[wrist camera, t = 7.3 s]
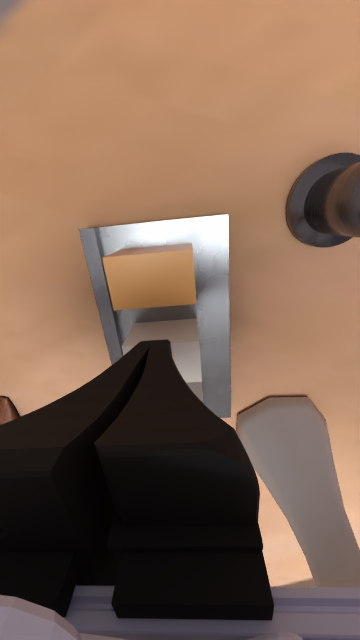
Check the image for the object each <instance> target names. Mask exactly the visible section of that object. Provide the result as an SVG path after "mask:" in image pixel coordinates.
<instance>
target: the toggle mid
mask: <svg viewBox="0 0 360 640" xmlns="http://www.w3.org/2000/svg"><path fill="white" fill-rule="evenodd" d="M165 339H168V340H169V341H170V342H171V350H172V357H173V360H174V362H175V364H176V367H177V369H178V370H179V372H180V374H181V376H182V377H183V379H184V380H185V382H186V383H190V382H202V374H201V359H200V345H199V333H198V322H197V318H196V319H183V320H169V321H156V322H142V323H134V324H133V326H132V328H131V330H130V332H129V334H128V335H127V337H126V339H125V341H124V343H123V345H122V351H123V355H125V354H126V353H127V352H128V351H130V350H131V349H132V348H133V347H134V346H135V345H137V344H138V343H139V342H140V341H149V340H165Z"/></svg>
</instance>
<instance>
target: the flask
mask: <svg viewBox="0 0 360 640" xmlns="http://www.w3.org/2000/svg"><path fill="white" fill-rule="evenodd" d="M236 433H237V435H238V437H239V439H240V440H241V442H242V444H243V446H244V448H245V450H246V452H247V454H248V456H249V459H250V461H251V463H252V466H253V467H254V469H255V470H256V472H257V473H258V475H259V476H260V477H261V479H262V481H263V482H264V484H265V485H266V487H267V488H268V490H269V492H270V493H271V495H272V496H273V498H274V499H275V501H276V503H277V504H278V506H279V507H280V509H281V510H282V512H283V513H284V515H285V517H286V518H287V520H288V522H289V524H290V526H291V528H292V530H293V532H294V534H295V536H296V539H297V541H298V543H299V545H300V547H301V549H302V551H303V553H304V555H305V557H306V560H307V562H308V565H309V568H310V571H311V573H312V576H313V579H314V581H315V584H316V587H360V550H359V547H358V544H357V542H356V539H355V536H354V533H353V531H352V528H351V525H350V523H349V520H348V517H347V514H346V512H345V509H344V505H343V501H342V496H341V492H340V488H339V483H338V479H337V474H336V470H335V466H334V461H333V456H332V450H331V445H330V439H329V434H328V429H327V425H326V420H325V418H324V417H323V416H322V415H321V413H320V412H319V411H318V409H317V408H316V407H315V406H314V404H313V403H312V402H311V400H310V399H309V398H308V397H272V398H267V399H266V400H264V401H262V402H260V403H258V404H257V405H255V406H253V407H251V408H249V409H248V410H246V411H244V412H242V413H240V414H239V415H238V416H237V432H236Z"/></svg>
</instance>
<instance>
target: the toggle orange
mask: <svg viewBox="0 0 360 640" xmlns="http://www.w3.org/2000/svg"><path fill="white" fill-rule="evenodd" d="M102 259H103V264H104V268H105V273H106V277H107V282H108V287H109V291H110V296H111V300H112V305H113V309H114V310H126V309H139V308H151V307H164V306H177V305H190V304H197V303H196V288H195V274H194V260H193V247H192V243H185V244H174V245H164V246H153V247H143V248H132V249H122V250H118V251H116V252H114V253H112V254H109V255H107V256H105V257H102Z"/></svg>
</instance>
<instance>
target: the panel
mask: <svg viewBox="0 0 360 640" xmlns="http://www.w3.org/2000/svg"><path fill="white" fill-rule="evenodd" d="M79 233H80V237H81V241H82V245H83V249H84V253H85V257H86V261H87V265H88V269H89V273H90V278H91V282H92V286H93V290H94V294H95V298H96V302H97V306H98V310H99V314H100V318H101V322H102V327H103V331H104V335H105V339H106V343H107V347H108V351H109V355H110V359H111V363H112V365H113V364H114V363H115V362H117V361H118V360H119V359H120V358H121V357H123V356H124V355H123V351H122V345H123V343H124V341H125V339H126V337H127V335H128V334H129V332H130V330H131V328H132V326H133V324H134V323H142V322H156V321H169V320H183V319H196V318H197V322H198V333H199V345H200V359H201V374H202V391H203V403H204V404H205V406H207V407H208V408H209V409H210V410H211V411H212V412H213V413H214V414H215V415H217V416H218V417H219V418H227V417H231V383H230V304H229V226H228V214H224V215H214V216H205V217H195V218H185V219H176V220H166V221H156V222H146V223H137V224H127V225H117V226H107V227H98V228H87V229H79ZM185 243H192V247H193V260H194V274H195V288H196V303H197V304H190V305H177V306H164V307H151V308H139V309H126V310H114V309H113V305H112V300H111V296H110V291H109V287H108V282H107V277H106V273H105V268H104V264H103V259H102V257H105V256H107V255H109V254H112V253H114V252H116V251H118V250H122V249H132V248H143V247H153V246H164V245H174V244H185Z"/></svg>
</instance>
